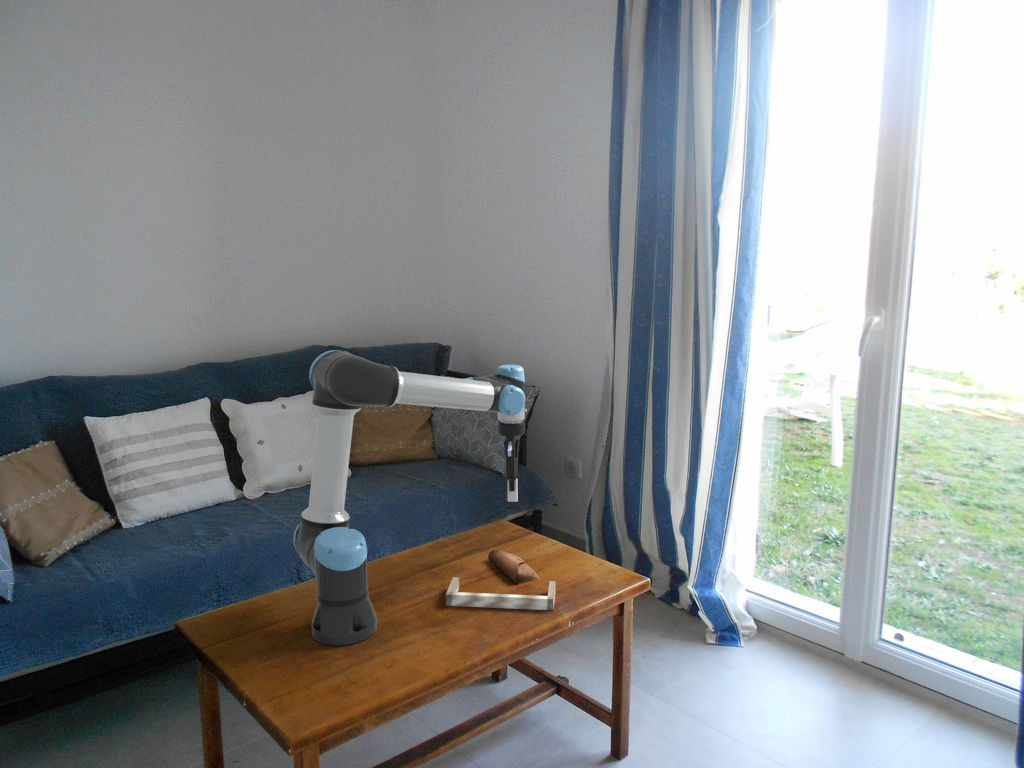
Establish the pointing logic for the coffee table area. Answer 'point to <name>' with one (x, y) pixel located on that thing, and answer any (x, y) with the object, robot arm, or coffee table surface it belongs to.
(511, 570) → the sunglasses case
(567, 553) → the coffee table surface
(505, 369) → the robot arm
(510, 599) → the bracket
